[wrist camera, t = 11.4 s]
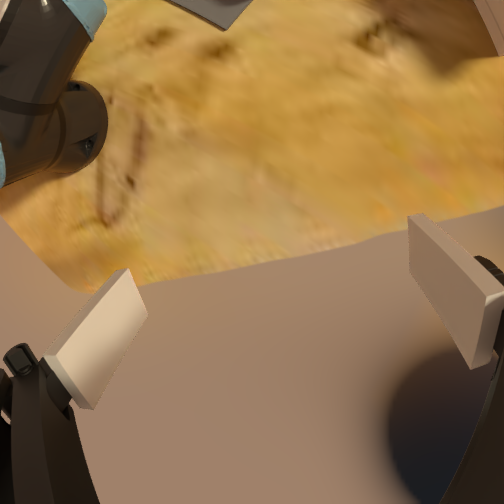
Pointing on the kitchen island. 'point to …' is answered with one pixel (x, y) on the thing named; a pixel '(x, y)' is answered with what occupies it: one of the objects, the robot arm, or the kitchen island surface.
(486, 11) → the pizza boxes
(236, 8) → the mat
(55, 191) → the kitchen island surface
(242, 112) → the kitchen island surface
